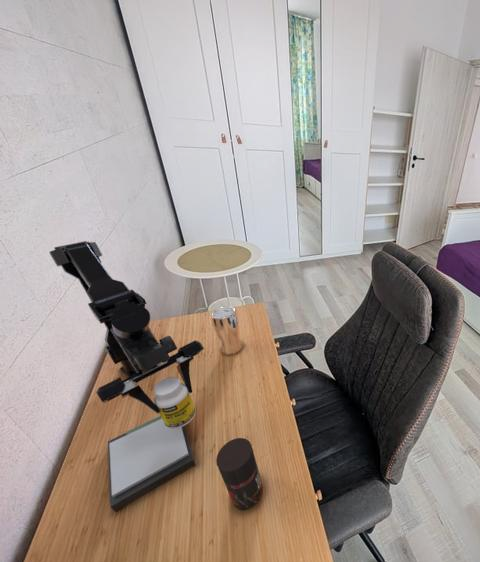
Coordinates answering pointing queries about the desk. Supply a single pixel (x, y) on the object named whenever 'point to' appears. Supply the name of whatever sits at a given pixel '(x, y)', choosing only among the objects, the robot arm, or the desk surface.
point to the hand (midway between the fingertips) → (175, 402)
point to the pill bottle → (174, 403)
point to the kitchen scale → (146, 460)
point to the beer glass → (227, 329)
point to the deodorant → (240, 473)
